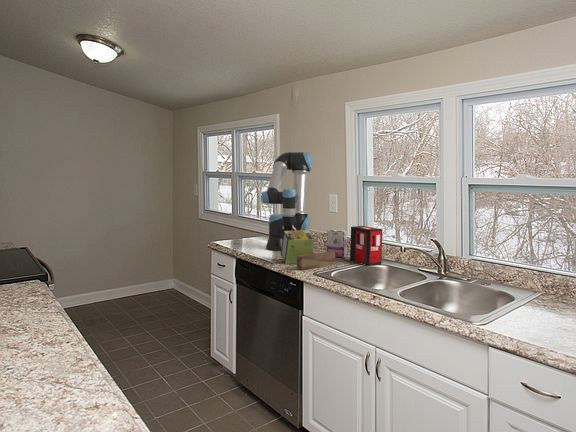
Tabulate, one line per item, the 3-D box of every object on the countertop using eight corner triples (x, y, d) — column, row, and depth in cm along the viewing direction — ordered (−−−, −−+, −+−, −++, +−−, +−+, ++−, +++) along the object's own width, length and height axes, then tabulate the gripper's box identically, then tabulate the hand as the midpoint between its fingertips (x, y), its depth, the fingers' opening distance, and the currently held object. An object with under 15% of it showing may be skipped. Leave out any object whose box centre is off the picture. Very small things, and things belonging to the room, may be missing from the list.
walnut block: (296, 269, 226) (296, 255, 226) (329, 263, 241) (329, 251, 241) (301, 270, 223) (301, 257, 223) (334, 264, 238) (335, 252, 238)
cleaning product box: (349, 260, 251) (350, 226, 249) (361, 259, 255) (362, 225, 253) (368, 266, 237) (370, 230, 235) (381, 264, 241) (382, 229, 239)
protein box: (311, 262, 243) (315, 238, 236) (285, 264, 239) (288, 239, 232) (305, 253, 252) (309, 229, 245) (280, 254, 248) (283, 230, 241)
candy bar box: (346, 257, 262) (347, 230, 260) (343, 258, 257) (344, 231, 256) (329, 255, 267) (330, 228, 266) (326, 256, 263) (327, 229, 261)
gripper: (276, 215, 251) (276, 255, 253) (290, 216, 241) (289, 258, 243) (286, 214, 256) (286, 253, 258) (301, 216, 246) (300, 257, 248)
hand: (288, 256), depth 250 cm, fingers closed
